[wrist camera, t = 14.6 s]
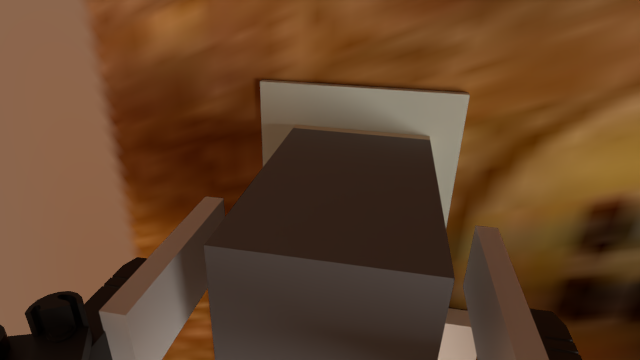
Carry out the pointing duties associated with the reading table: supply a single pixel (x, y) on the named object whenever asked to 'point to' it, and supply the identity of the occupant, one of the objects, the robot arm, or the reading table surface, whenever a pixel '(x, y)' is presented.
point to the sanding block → (333, 253)
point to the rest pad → (369, 117)
